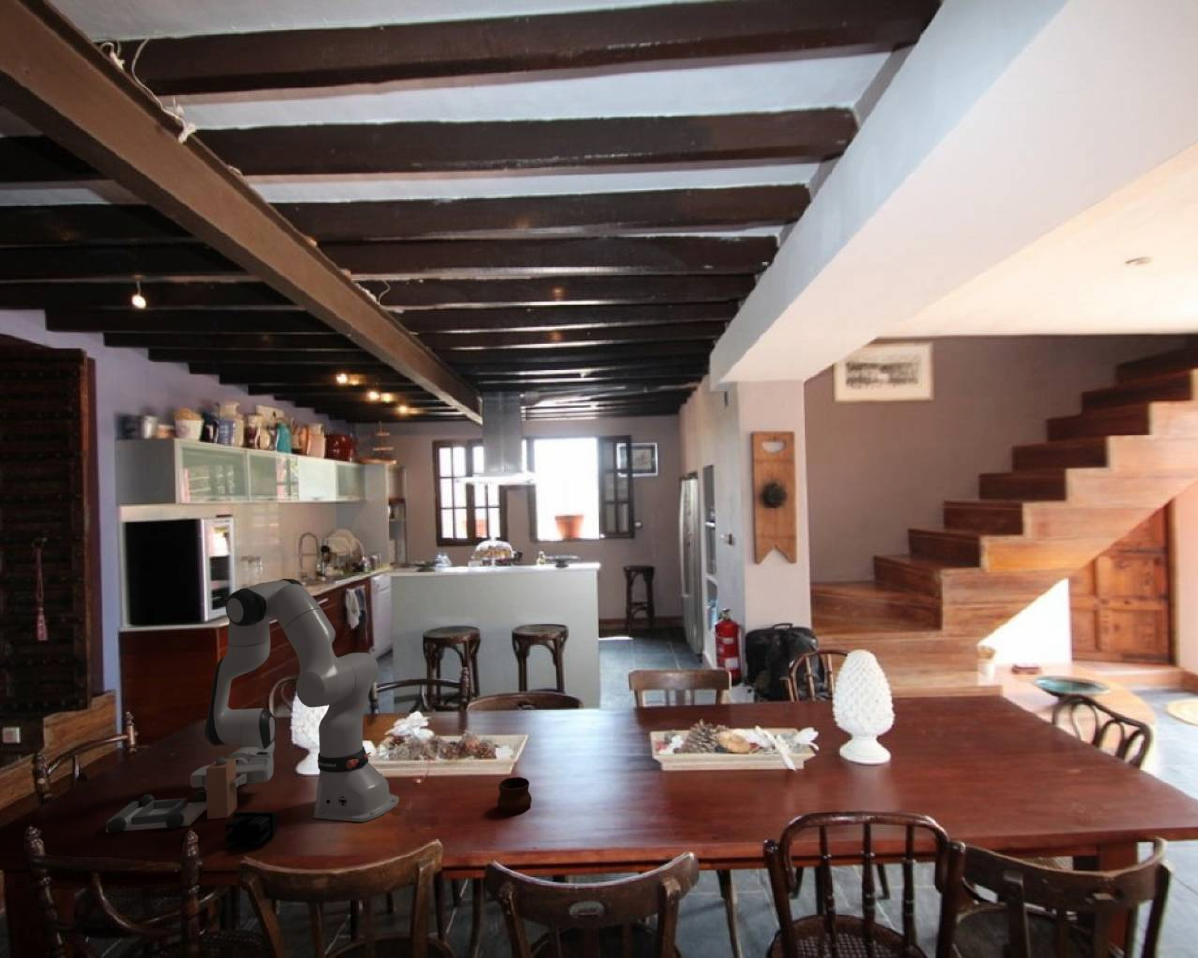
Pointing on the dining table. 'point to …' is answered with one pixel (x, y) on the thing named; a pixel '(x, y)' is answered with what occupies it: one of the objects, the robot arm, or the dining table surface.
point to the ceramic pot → (514, 796)
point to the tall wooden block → (221, 788)
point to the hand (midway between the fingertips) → (220, 785)
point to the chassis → (158, 813)
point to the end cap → (251, 830)
